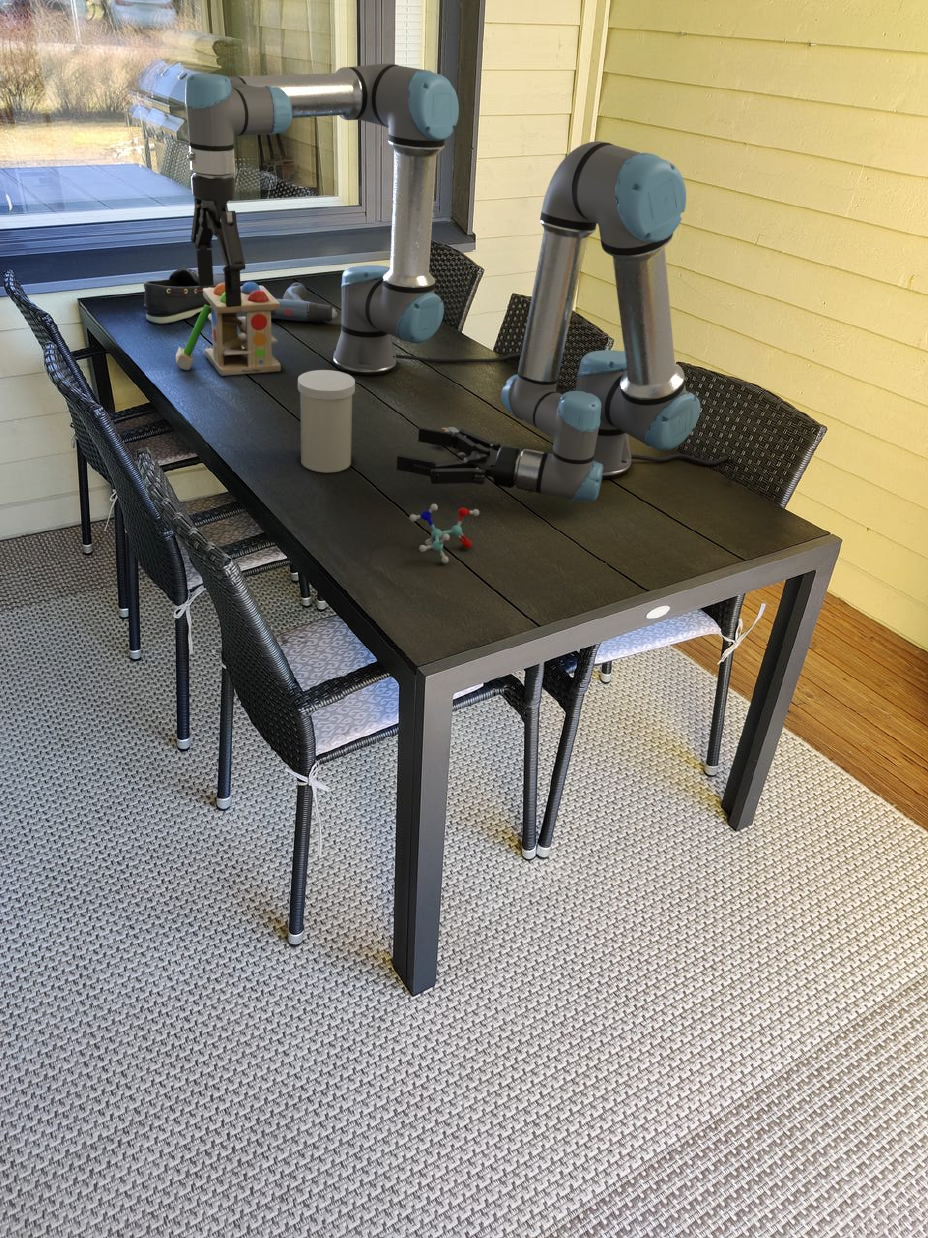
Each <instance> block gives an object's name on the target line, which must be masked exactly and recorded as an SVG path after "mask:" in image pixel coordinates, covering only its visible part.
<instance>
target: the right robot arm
mask: <svg viewBox="0 0 928 1238" xmlns="http://www.w3.org/2000/svg"><path fill="white" fill-rule="evenodd" d="M681 173H682V172H680V170H679V169H678V167H676V165H674V164H673V163H672V162H670V161H668V160H666V159H664V158H662V157H660V156H658V155H657V154H654V153H650V152H639V151H637V150H632V149H629V148H625V147H622V146H620V145H615V144H613V143H611V142H606V141H600V140H598V141H589V142H586V143H584V144H581V145H579V146H577V147H575V148H574V149H573V150H572V151H570V152H569V153H568V154H567V155H566V157H564V159H563V160H562V161H561V162H560V163H559V165H558V167H556V170H555V172H553V175H552V177H551V179H550V181H549V183H548V187H547V188H546V191H545V194H544V198H543V201H542V206H541V212H540V218H539V222H540V224H541V226H542V227H543V234H542V239H541V245H540V250H539V255H538V261H537V267H536V270H535V271H536V272H535V277H534V283H533V289H532V292H531V294H532V295H531V299H530V304H529V310H528V315H527V321H526V326H525V331H524V337H523V341H522V348H521V352H520V353H521V357H520V359H519V364H518V368H517V369H518V370H517V374H514V375H512V376H511V377H509V378H508V379H507V381H506V382H505V385H504V386H503V387H502V391H501V394H500V395H501V396H500V397H501V402H502V405H503V407H504V408H505V409H506V410H507V411H508V412H510V413H511V414H512V415H513V416H514V417H516V418H517V419H518V420H521V421H524V422H526V423H527V424H529V425H530V426H533V427H534V428H536V429H537V430H539V431H540V432H542V433H544V434H546V435H547V436H549V437H550V438H552V439H553V444H552V451H551V453H548V452H545V451H540V450H535V449H529V448H524V449H522V450H521V448H520V447H518V446H517V447H516V446H510V445H506V444H501V443H499V442H495V441H491V440H489V439H487V438H484V437H482V436H480V435H478V434H475V433H473V432H471V431H468V430H466V429H463V428H461V429H458V430H459V432H454V433H453V434H452V433H449V432H443V431H441V430H438V429H432V428H427V427H421V426H420V427H419V428H418V440H417V442H419V443H423V444H430V445H434V446H439V447H445V448H451V449H452V450H455V449H457V450H458V451H461V453H462V452H463V453H465V454H466V455H465V456H466V457H464V458H463V459H461V460H454V461H453V460H452V461H446V462H438V463H436V462H435V460H429V459H423V458H420V457H419V458H418V457H413V456H408V455H403V454H397V456H396V470H397V471H401V472H407V473H411V474H416V475H422V476H427V477H429V479H430V483H431V484H432V485H438V484H439V485H444V484H445V485H447V484H451V485H452V484H454V485H455V484H475V485H485V482H486V477H489V478H492V479H493V484H494V485H495V486H498V487H503V488H508V489H512V488H514V487H515V488H516V490H520V491H525V492H528V494H533V493H535V494H541V495H546V496H551V497H555V498H561V499H566V500H570V501H571V502H582V503H593V502H595V501H596V500H597V498H598V496H599V492H600V488H601V485H602V480H612V479H619V478H621V477H624V476H626V475H627V474H628V473H629V472H630V471H631V467H632V466H631V465H632V460H640V461H647V462H655V463H662V462H663V463H664V462H667V461H670V460H675V459H681V460H687V461H690V462H693V463H696V464H699V465H702V466H716V465H719V464H721V463H722V462H725V461H726V460H728V461H730V462H731V463H737V460H736V459H735V458H734V457H733V458H734V459H733V458H731V459H727V456H726V455H723V456H721V457H720V458H717V459H714V460H703V459H699V458H697V457H695V456H691V455H688V454H683V453H674V454H669V455H666V456H662V457H655V456H648V455H640V454H632V453H631V446H630V445H631V444H630V439H629V436H630V437H631V438H634V439H635V440H637V441H639V442H641V443H642V444H643V445H645V446H646V447H651V448H653V449H656V450H658V451H662V452H663V451H664V452H665V451H670V450H673V449H674V448H677V447H678V446H679V445H681V444H682V443H683V442H684V441H685V440H686V439H687V438H688V437H689V436H690V434H691V433H692V432H693V430H694V428H695V427H696V425H697V422H698V420H699V417H700V413H701V401H700V400H699V398H698V397H697V396H696V395H695V394H694V393H693V392H688V391H687V389H686V379H685V378H686V377H685V371H684V369H683V368H682V367H681V366H680V365H679V364H677V363H676V362H675V361H676V360H675V349H674V337H673V326H672V325H673V324H672V314H671V312H672V311H671V302H670V301H671V300H670V291H669V279H668V268H667V255H666V246H667V245H668V244H669V243H670V242H671V241H672V239H673V237H674V233H675V231H676V230H677V228H678V227H679V225H680V223H682V219H683V218H682V216H681V214H683V213H685V210H686V205H687V189H686V185H685V184H686V183H685V180H684V178H683V175H682V174H681ZM597 226H598V232H599V237H600V244H601V245H600V246H601V248H602V250H603V252H605V253H606V254H607V255H609V256H611V258H612V264H613V265H612V266H613V272H614V280H615V287H616V295H617V303H618V304H617V305H618V313H619V320H620V326H621V335H622V344H623V350H615V349H605V350H594V351H591V352H588V353H586V354H585V355H583V356H582V358H581V360H580V362H579V363H580V364H579V367H578V372H577V373H576V374H577V375H576V383H575V390H570V391H566V392H564V393H563V394H562V393H561V392H558V391H557V386H558V382H559V375H560V370H561V366H562V362H563V356H564V351H565V346H566V342H567V337H568V332H569V328H570V323H571V319H572V314H573V309H574V304H575V299H576V295H577V290H578V286H579V281H580V276H581V271H582V266H583V261H584V258H585V257H584V256H585V252H586V248H587V243H588V239H589V237H590V236H591V235H593V234H594V233H595V232H596V230H597ZM465 436H466V437H465Z"/></svg>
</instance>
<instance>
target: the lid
mask: <svg viewBox="0 0 928 1238" xmlns="http://www.w3.org/2000/svg"><path fill="white" fill-rule="evenodd" d="M297 390H298V392H299V394H300V393H302V394H303V395H305V396H308V397H311V398H315V399H321V400H337V399H343V398H346V397H349V396H351V395H352V394H353V395H354V394H355V391H356V379H355V378H354V377H353V376H351V375H350V374H349V373H347V372H344V371H338V370H333V369H332V370H329V369H317V370H310V371H306V372H304V373H301V374H300V375H299V376H298V378H297Z"/></svg>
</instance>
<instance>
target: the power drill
mask: <svg viewBox="0 0 928 1238" xmlns="http://www.w3.org/2000/svg"><path fill="white" fill-rule="evenodd" d="M307 295H308V290H307V287H306V285H304V284H303V283H301V282H293V283H292V284H291V285H290V286H289V287H288V288H287V289H286V291H285V292H284V294H283V297H282V298H275V299H276V300H277V301H278V302H279V303H280V310H271V319H274V320H275V319H276V320H283V321H294V322H295V321H297V322H332V321H333V320H334V319H336V318H337V317H338V312H337V311H336V308H334V307H333V306H332V305H331V304H324V303H317V302H313V301H307V300H305V299H306V297H307Z"/></svg>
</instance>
